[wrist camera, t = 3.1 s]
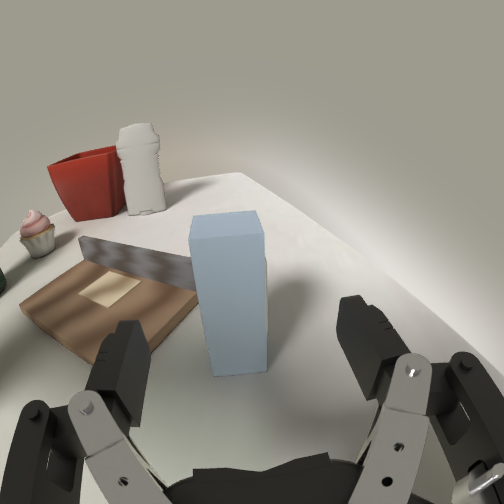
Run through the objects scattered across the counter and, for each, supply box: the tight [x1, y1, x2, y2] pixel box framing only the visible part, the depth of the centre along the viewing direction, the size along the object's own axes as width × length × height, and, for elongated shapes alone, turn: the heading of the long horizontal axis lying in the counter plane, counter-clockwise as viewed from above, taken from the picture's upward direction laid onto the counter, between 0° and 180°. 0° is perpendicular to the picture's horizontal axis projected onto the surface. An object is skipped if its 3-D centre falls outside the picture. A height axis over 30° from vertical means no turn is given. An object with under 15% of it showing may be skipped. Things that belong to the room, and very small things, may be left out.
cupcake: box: [20, 210, 55, 258], centre depth 49 cm, size 9×9×10 cm
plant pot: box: [47, 145, 126, 221], centre depth 69 cm, size 19×19×17 cm
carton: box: [188, 210, 268, 377], centre depth 24 cm, size 5×4×14 cm
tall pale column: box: [116, 123, 167, 216], centre depth 63 cm, size 11×4×22 cm, turn 102°
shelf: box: [19, 236, 199, 366], centre depth 34 cm, size 24×17×6 cm
